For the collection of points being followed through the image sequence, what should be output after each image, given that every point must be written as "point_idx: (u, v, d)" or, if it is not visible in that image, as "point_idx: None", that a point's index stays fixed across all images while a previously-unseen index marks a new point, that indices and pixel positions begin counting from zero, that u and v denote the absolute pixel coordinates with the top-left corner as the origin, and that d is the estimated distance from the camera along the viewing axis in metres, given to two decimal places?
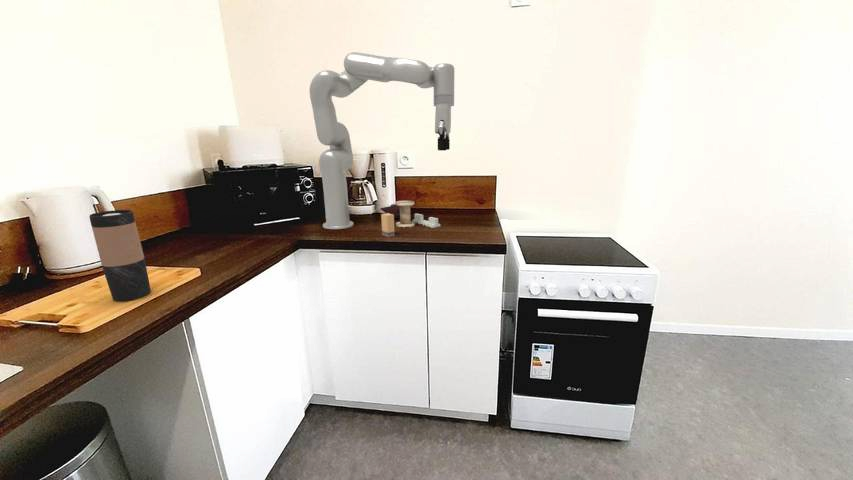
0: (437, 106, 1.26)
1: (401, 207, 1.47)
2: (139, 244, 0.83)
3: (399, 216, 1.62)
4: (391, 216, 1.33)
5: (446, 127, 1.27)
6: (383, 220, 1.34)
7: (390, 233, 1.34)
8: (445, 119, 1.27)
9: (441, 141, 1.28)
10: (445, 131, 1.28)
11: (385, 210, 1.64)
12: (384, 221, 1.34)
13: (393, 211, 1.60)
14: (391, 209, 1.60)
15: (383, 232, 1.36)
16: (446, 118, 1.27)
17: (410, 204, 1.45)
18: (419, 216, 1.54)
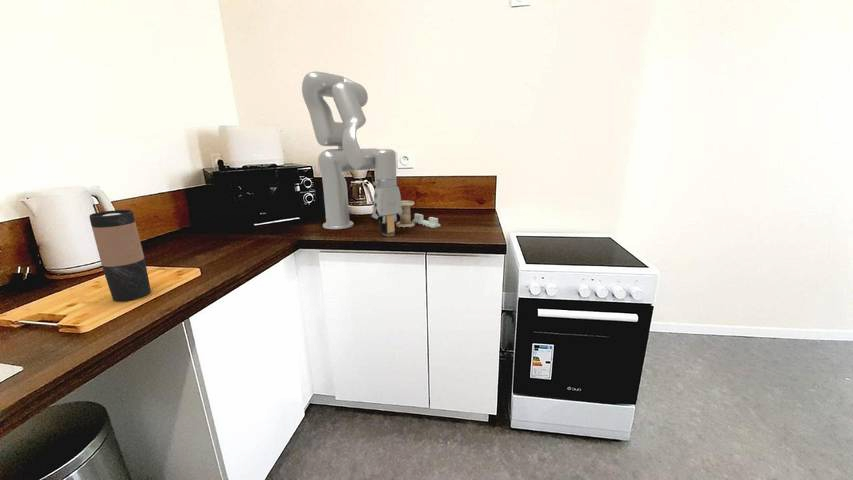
0: (398, 188, 1.33)
1: None
2: (139, 244, 0.83)
3: None
4: (391, 216, 1.33)
5: None
6: None
7: (390, 233, 1.34)
8: None
9: None
10: None
11: None
12: None
13: None
14: None
15: None
16: None
17: (410, 204, 1.45)
18: (419, 216, 1.54)
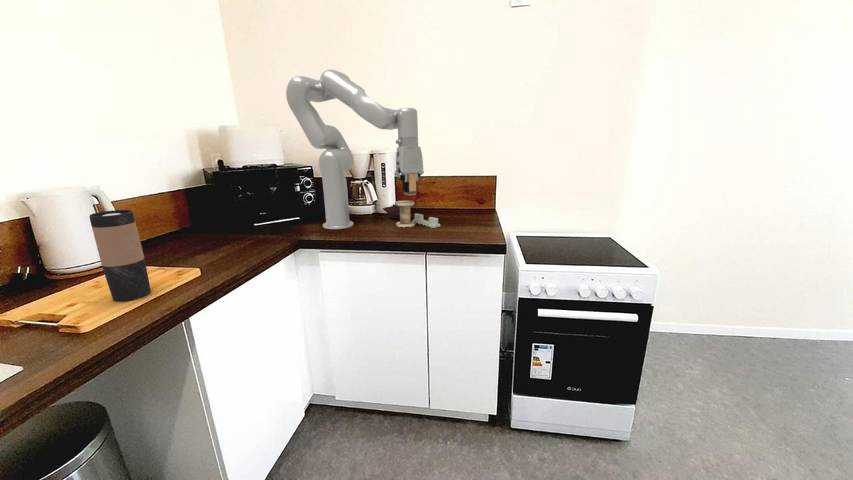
0: None
1: (401, 207, 1.47)
2: (139, 244, 0.83)
3: None
4: (413, 175, 1.36)
5: None
6: None
7: (412, 192, 1.37)
8: None
9: None
10: None
11: (387, 210, 1.64)
12: None
13: (395, 211, 1.60)
14: (393, 209, 1.60)
15: None
16: None
17: (410, 204, 1.45)
18: (419, 216, 1.54)
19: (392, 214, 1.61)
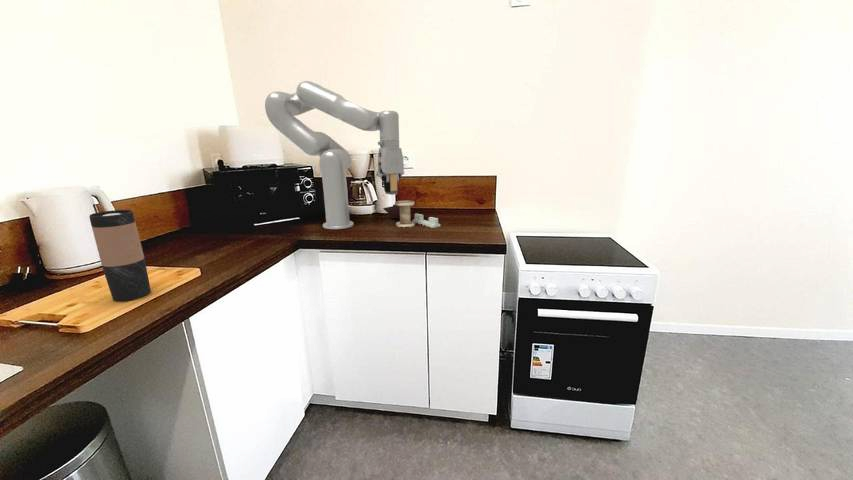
0: None
1: (401, 207, 1.47)
2: (139, 244, 0.83)
3: None
4: (394, 175, 1.41)
5: None
6: None
7: (393, 191, 1.43)
8: None
9: None
10: None
11: (387, 210, 1.64)
12: None
13: (395, 211, 1.60)
14: (393, 209, 1.60)
15: None
16: None
17: (410, 204, 1.45)
18: (419, 216, 1.54)
19: (393, 214, 1.60)
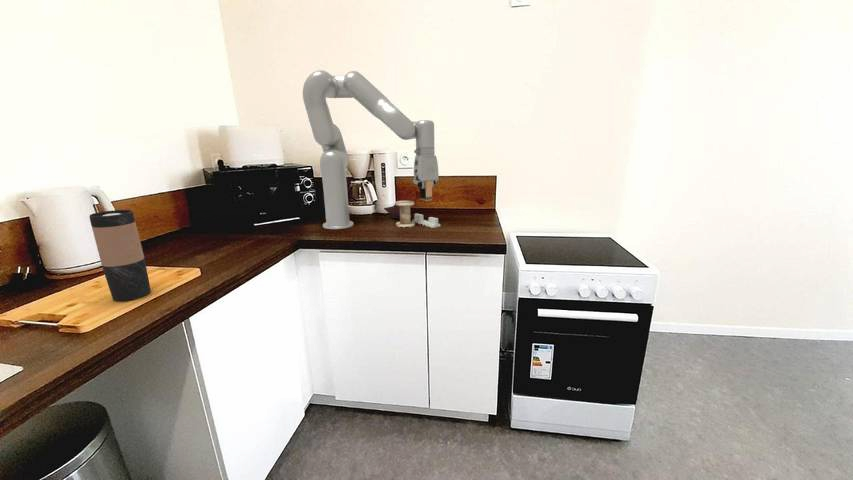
0: None
1: (401, 207, 1.47)
2: (139, 244, 0.83)
3: None
4: (430, 182, 1.46)
5: None
6: None
7: (428, 197, 1.48)
8: None
9: None
10: None
11: (388, 210, 1.64)
12: None
13: (396, 211, 1.60)
14: (394, 209, 1.60)
15: None
16: None
17: (410, 204, 1.45)
18: (419, 216, 1.54)
19: (393, 214, 1.60)
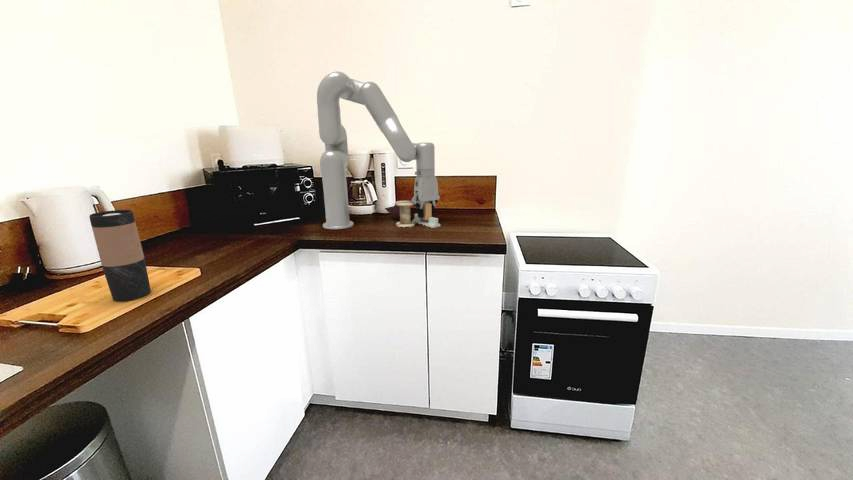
0: None
1: (401, 207, 1.47)
2: (139, 244, 0.83)
3: None
4: (429, 205, 1.49)
5: None
6: (422, 208, 1.50)
7: (428, 220, 1.50)
8: None
9: None
10: None
11: (389, 210, 1.64)
12: None
13: (397, 211, 1.60)
14: (394, 209, 1.60)
15: (421, 219, 1.52)
16: None
17: (410, 204, 1.45)
18: None
19: (394, 214, 1.60)
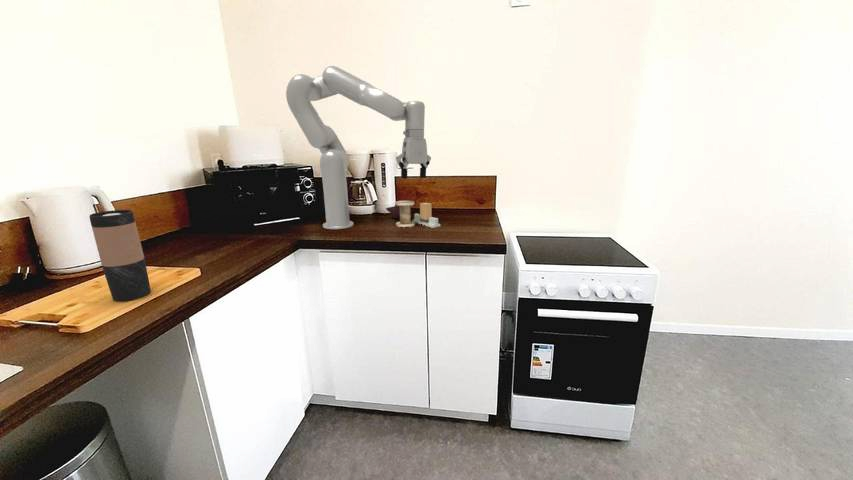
0: None
1: (401, 207, 1.47)
2: (139, 244, 0.83)
3: None
4: (429, 205, 1.49)
5: None
6: (422, 208, 1.50)
7: (428, 220, 1.50)
8: None
9: None
10: None
11: (390, 210, 1.64)
12: (422, 209, 1.50)
13: (397, 211, 1.60)
14: (395, 209, 1.60)
15: (421, 219, 1.52)
16: None
17: (410, 204, 1.45)
18: (419, 216, 1.54)
19: (394, 214, 1.60)
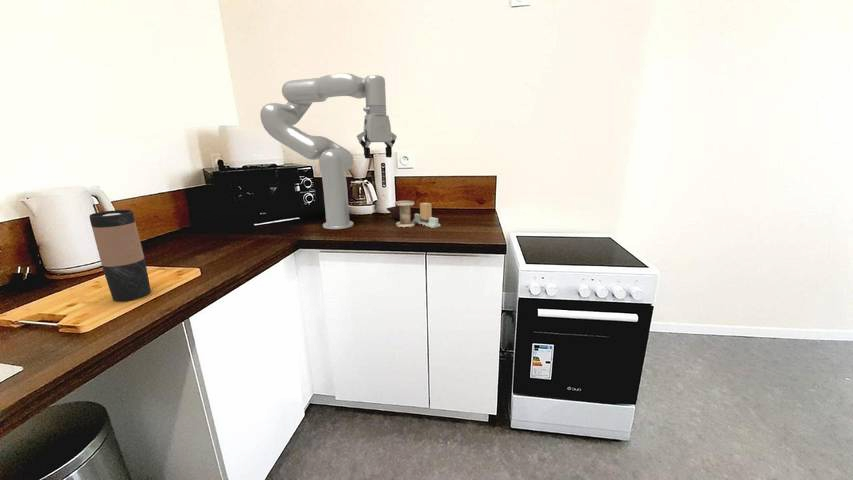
0: None
1: (401, 207, 1.47)
2: (139, 244, 0.83)
3: None
4: (429, 205, 1.49)
5: None
6: (422, 208, 1.50)
7: (428, 220, 1.50)
8: None
9: None
10: None
11: (390, 210, 1.64)
12: (422, 209, 1.50)
13: (398, 211, 1.59)
14: (396, 209, 1.60)
15: (421, 219, 1.52)
16: None
17: (410, 204, 1.45)
18: (419, 216, 1.54)
19: (395, 214, 1.60)
